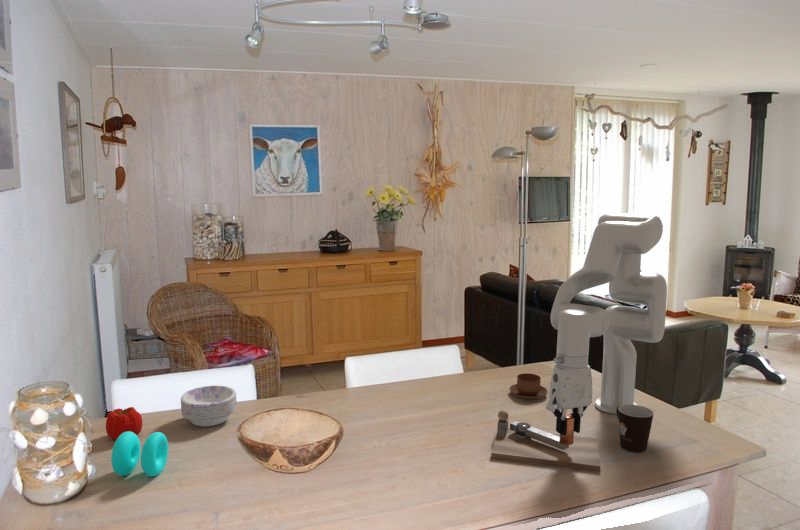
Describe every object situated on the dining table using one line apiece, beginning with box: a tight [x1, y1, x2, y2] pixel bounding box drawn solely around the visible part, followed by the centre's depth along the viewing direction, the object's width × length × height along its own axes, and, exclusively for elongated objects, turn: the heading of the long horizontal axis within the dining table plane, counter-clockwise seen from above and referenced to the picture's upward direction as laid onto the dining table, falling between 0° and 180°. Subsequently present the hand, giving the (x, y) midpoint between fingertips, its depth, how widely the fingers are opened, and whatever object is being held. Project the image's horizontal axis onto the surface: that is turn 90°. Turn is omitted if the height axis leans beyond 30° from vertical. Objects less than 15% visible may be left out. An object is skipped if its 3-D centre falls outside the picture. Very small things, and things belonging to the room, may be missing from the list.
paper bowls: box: [180, 385, 238, 428], centre depth 174 cm, size 15×15×8 cm
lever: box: [509, 413, 575, 450], centre depth 157 cm, size 18×4×8 cm, turn 42°
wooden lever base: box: [490, 409, 602, 473], centre depth 156 cm, size 16×26×7 cm, turn 75°
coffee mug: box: [616, 404, 655, 454], centre depth 160 cm, size 12×9×10 cm
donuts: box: [110, 431, 169, 477], centre depth 143 cm, size 10×10×10 cm
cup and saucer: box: [509, 372, 549, 400], centre depth 196 cm, size 12×12×6 cm
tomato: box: [105, 406, 143, 441], centre depth 163 cm, size 9×9×8 cm
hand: (567, 431), depth 151 cm, fingers closed on lever, 3 cm apart
